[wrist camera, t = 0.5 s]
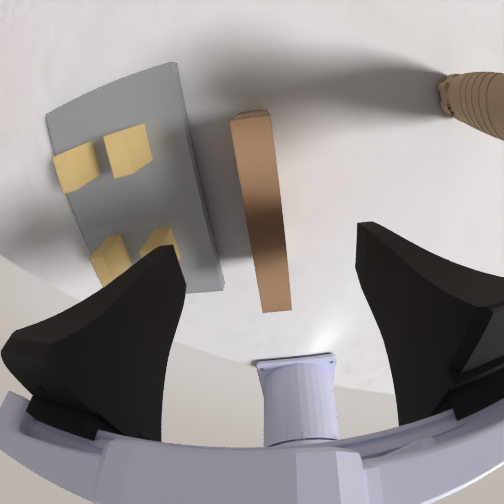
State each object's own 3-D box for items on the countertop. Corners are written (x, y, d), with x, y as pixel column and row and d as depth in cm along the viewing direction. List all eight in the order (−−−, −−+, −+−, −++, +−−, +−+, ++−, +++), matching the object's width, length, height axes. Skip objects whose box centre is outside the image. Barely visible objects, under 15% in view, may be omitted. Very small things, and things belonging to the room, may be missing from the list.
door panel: (284, 252, 20) (291, 309, 15) (262, 254, 20) (262, 312, 15) (266, 109, 15) (269, 115, 10) (240, 112, 15) (229, 121, 10)
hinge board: (224, 282, 22) (218, 318, 18) (116, 290, 23) (98, 322, 19) (176, 63, 13) (153, 55, 10) (53, 112, 15) (17, 122, 11)
